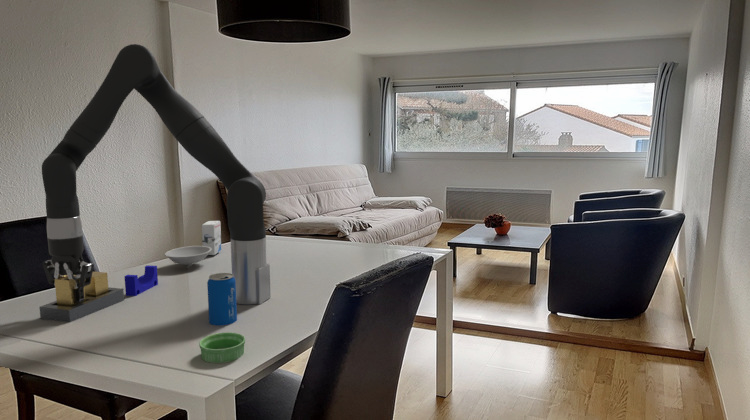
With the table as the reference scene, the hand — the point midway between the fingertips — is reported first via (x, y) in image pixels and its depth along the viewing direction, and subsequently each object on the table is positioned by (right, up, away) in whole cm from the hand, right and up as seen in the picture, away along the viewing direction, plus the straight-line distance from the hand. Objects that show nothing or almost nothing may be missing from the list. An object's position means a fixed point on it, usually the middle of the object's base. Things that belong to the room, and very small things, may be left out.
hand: (71, 301), depth 133 cm
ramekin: (+46, -8, -25) cm, 53 cm away
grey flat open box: (+1, -3, +4) cm, 5 cm away
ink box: (+14, +6, +69) cm, 71 cm away
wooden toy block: (0, -2, 0) cm, 2 cm away
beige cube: (+2, -2, +8) cm, 9 cm away
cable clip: (+7, -1, +22) cm, 23 cm away
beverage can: (+40, -5, -5) cm, 40 cm away
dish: (+12, +4, +51) cm, 52 cm away
